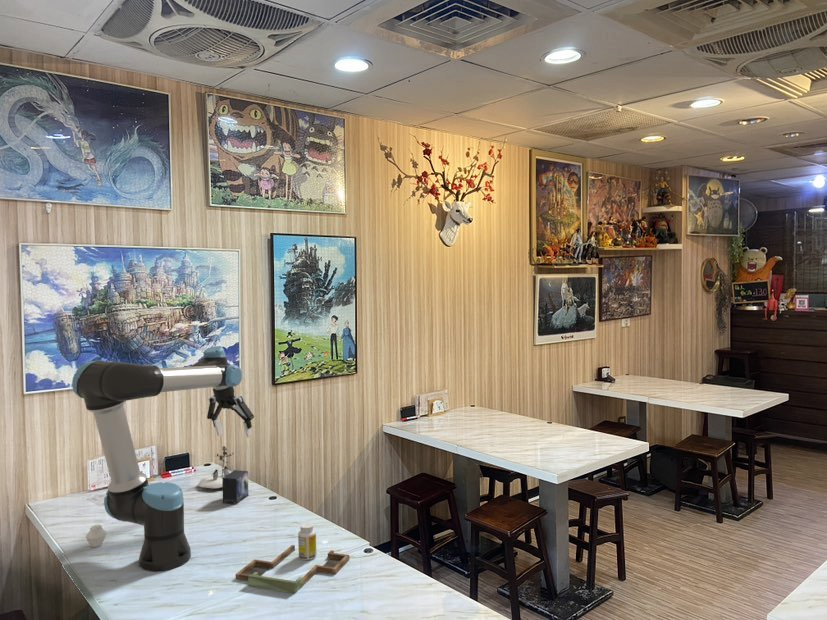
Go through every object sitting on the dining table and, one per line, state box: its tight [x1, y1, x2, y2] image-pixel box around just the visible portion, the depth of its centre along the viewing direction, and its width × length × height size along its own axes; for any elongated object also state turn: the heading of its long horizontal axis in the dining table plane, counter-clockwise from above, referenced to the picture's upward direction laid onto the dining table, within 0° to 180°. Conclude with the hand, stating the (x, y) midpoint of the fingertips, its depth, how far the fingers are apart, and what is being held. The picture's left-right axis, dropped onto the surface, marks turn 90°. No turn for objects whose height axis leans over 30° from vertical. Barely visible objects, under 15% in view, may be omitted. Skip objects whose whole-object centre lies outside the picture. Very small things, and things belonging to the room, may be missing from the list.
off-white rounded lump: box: [85, 524, 108, 548], centre depth 205 cm, size 6×6×7 cm
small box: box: [221, 469, 249, 505], centre depth 246 cm, size 11×6×10 cm, turn 168°
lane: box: [235, 544, 350, 594], centre depth 185 cm, size 25×27×3 cm
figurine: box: [197, 445, 234, 489], centre depth 266 cm, size 20×18×16 cm
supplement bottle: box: [297, 522, 317, 561], centre depth 193 cm, size 6×6×10 cm
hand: (234, 434), depth 240 cm, fingers open, 13 cm apart
